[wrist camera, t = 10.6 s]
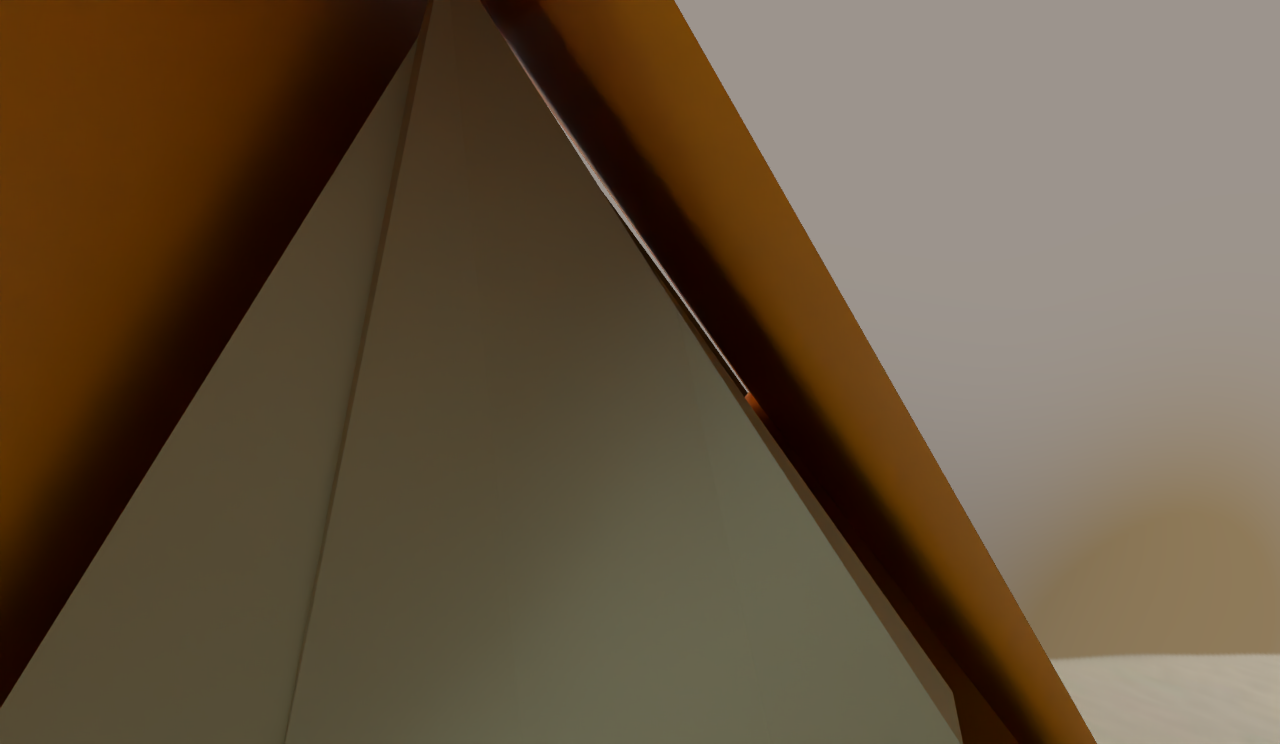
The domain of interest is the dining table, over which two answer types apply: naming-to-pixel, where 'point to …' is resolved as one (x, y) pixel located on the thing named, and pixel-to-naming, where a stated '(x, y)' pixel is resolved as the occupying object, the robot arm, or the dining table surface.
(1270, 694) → the dining table surface
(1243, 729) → the dining table surface
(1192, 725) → the dining table surface
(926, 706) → the orange juice
